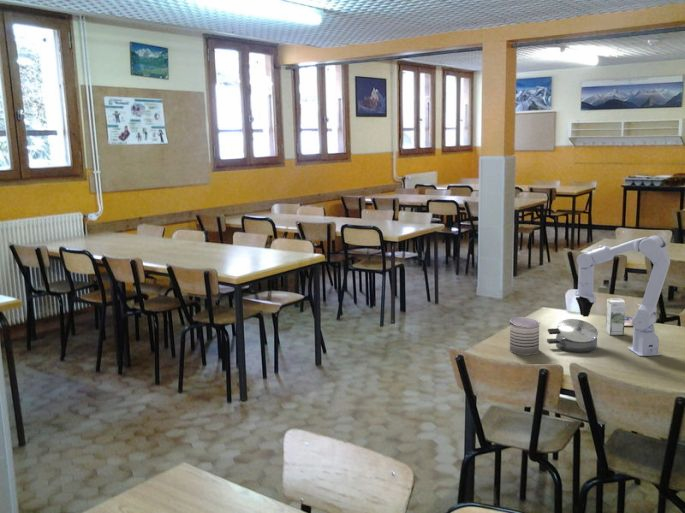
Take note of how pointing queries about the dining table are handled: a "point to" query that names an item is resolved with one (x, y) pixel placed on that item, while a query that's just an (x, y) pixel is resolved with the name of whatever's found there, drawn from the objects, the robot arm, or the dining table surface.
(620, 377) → the dining table surface
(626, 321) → the smartphone
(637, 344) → the robot arm
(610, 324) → the syrup box
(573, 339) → the cooker lid
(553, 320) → the dining table surface
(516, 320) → the can
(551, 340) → the cooker pot
